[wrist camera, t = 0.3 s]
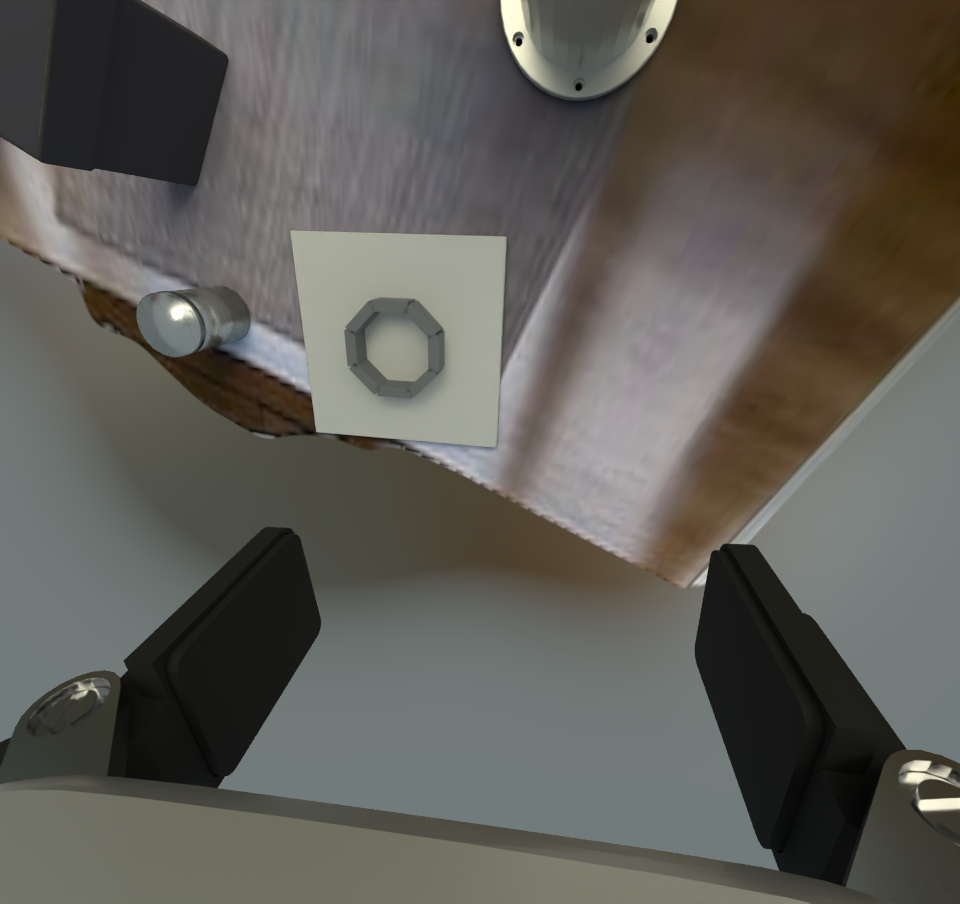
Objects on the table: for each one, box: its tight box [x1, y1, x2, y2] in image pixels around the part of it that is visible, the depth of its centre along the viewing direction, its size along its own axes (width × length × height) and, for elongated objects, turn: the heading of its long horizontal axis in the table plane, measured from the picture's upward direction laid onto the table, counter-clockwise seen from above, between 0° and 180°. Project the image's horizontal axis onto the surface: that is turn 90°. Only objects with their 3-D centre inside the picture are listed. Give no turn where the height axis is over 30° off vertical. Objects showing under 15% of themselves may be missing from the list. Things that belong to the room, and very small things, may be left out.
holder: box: [290, 231, 507, 448], centre depth 44 cm, size 20×20×4 cm
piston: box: [137, 286, 250, 357], centre depth 43 cm, size 6×6×8 cm
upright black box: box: [0, 0, 228, 186], centre depth 33 cm, size 11×4×15 cm, turn 149°
